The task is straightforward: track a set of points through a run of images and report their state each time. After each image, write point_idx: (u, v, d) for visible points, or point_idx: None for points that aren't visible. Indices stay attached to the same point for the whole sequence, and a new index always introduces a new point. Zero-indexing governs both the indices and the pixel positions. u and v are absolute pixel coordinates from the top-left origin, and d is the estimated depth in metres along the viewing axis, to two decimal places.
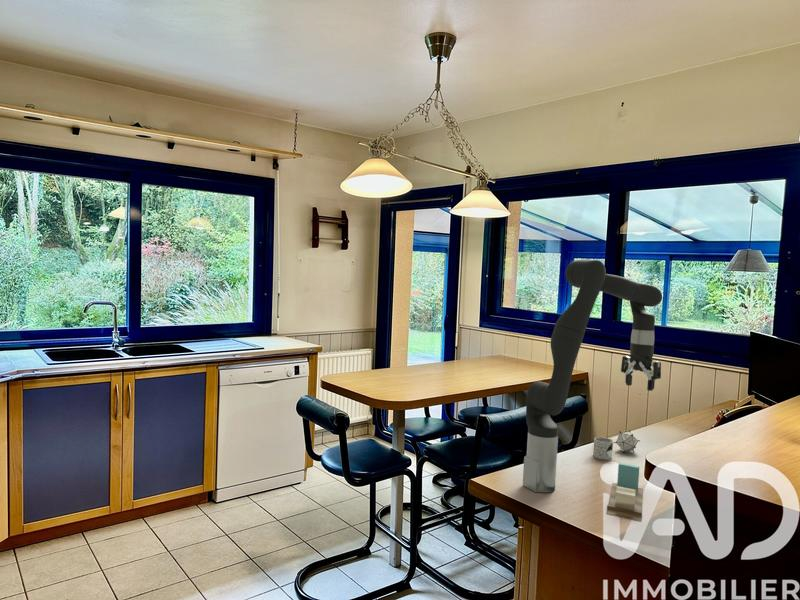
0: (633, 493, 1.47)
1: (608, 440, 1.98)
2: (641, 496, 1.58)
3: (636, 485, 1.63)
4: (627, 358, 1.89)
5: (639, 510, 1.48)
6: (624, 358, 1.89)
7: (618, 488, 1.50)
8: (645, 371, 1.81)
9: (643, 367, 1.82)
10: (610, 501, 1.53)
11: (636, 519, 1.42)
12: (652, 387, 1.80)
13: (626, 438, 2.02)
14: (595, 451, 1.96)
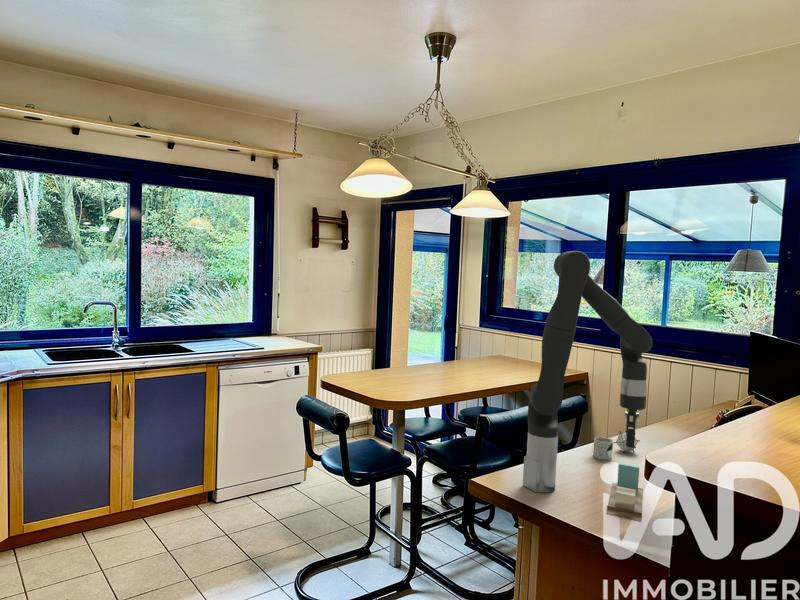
0: (633, 493, 1.47)
1: (608, 440, 1.98)
2: (641, 496, 1.58)
3: (636, 485, 1.63)
4: None
5: (639, 510, 1.48)
6: None
7: (618, 488, 1.50)
8: None
9: None
10: (610, 501, 1.53)
11: (636, 519, 1.42)
12: None
13: (626, 438, 2.02)
14: (595, 451, 1.96)
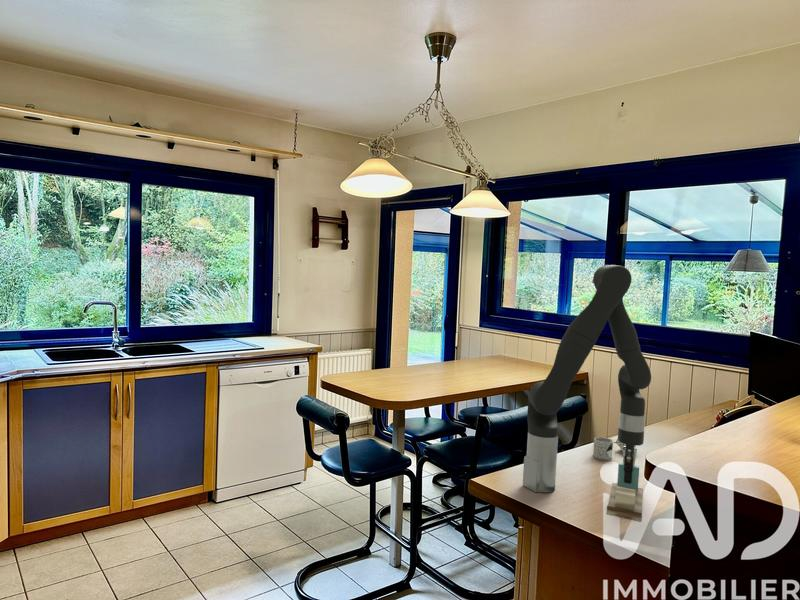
0: (633, 493, 1.47)
1: (608, 440, 1.98)
2: (641, 496, 1.58)
3: (636, 485, 1.63)
4: (630, 456, 1.60)
5: (639, 510, 1.48)
6: None
7: (618, 488, 1.50)
8: None
9: None
10: (610, 501, 1.53)
11: (636, 519, 1.42)
12: None
13: None
14: (595, 451, 1.96)
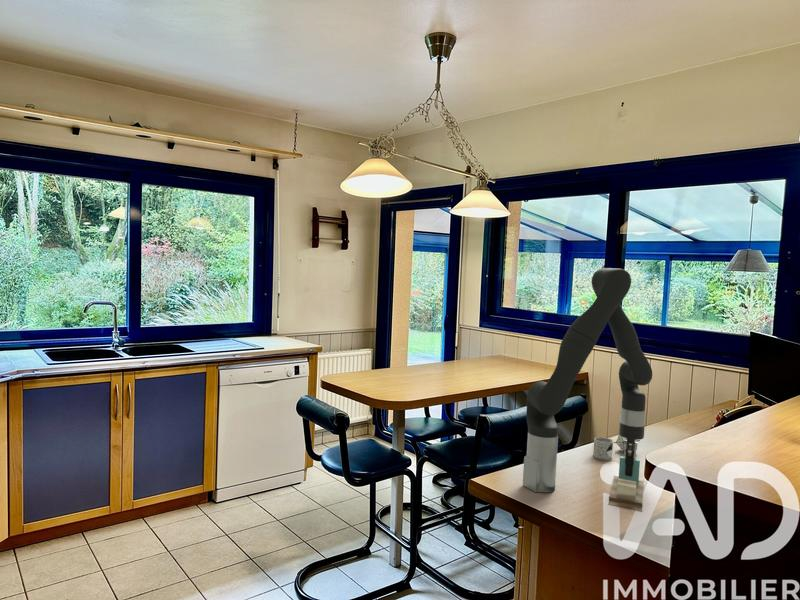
0: (634, 485, 1.53)
1: (608, 440, 1.98)
2: (641, 488, 1.64)
3: (637, 478, 1.69)
4: (631, 449, 1.66)
5: (640, 501, 1.54)
6: None
7: (619, 480, 1.57)
8: None
9: None
10: (612, 493, 1.59)
11: (637, 509, 1.48)
12: None
13: (625, 438, 2.02)
14: (595, 451, 1.96)
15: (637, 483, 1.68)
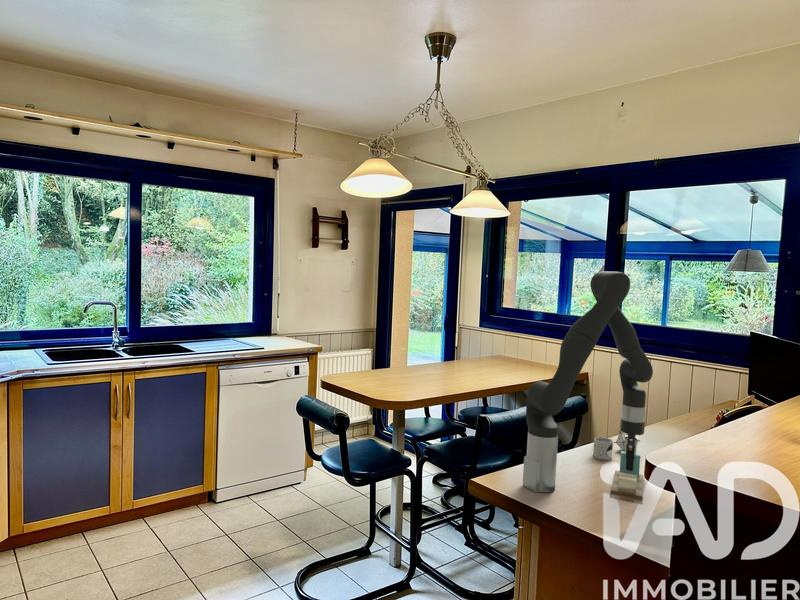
0: (634, 478, 1.59)
1: (608, 440, 1.98)
2: (642, 482, 1.69)
3: (637, 472, 1.75)
4: (632, 445, 1.72)
5: (640, 494, 1.59)
6: None
7: (621, 474, 1.62)
8: None
9: None
10: (613, 486, 1.65)
11: (637, 502, 1.53)
12: None
13: None
14: (595, 451, 1.96)
15: (637, 477, 1.73)
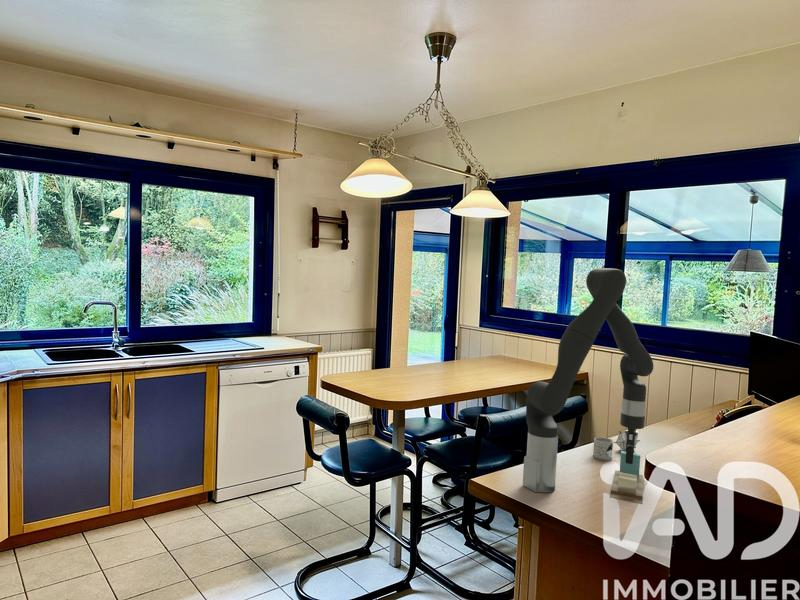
0: (634, 478, 1.59)
1: (608, 440, 1.98)
2: (642, 482, 1.69)
3: (637, 472, 1.75)
4: None
5: (640, 494, 1.59)
6: None
7: (621, 474, 1.62)
8: (636, 439, 1.78)
9: None
10: (613, 486, 1.65)
11: (637, 502, 1.54)
12: None
13: None
14: (595, 451, 1.96)
15: (638, 477, 1.74)
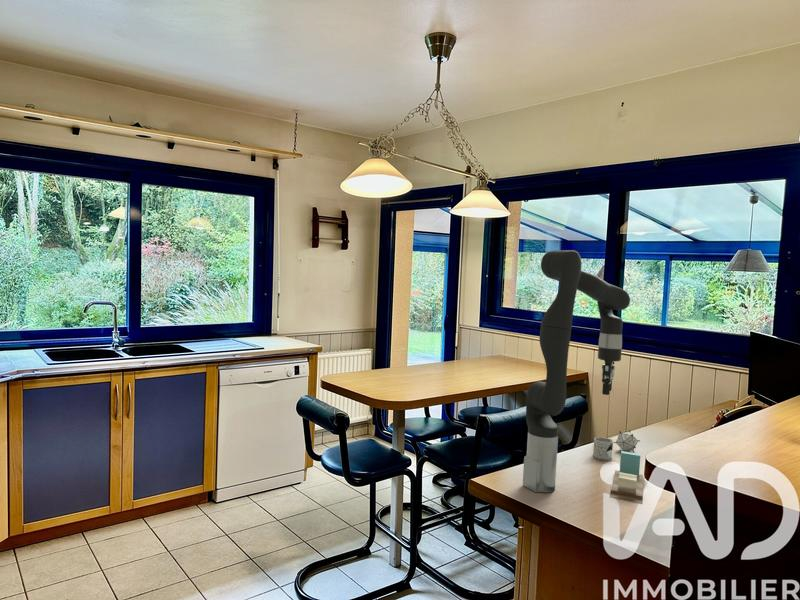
0: (634, 478, 1.59)
1: (608, 440, 1.98)
2: (642, 482, 1.69)
3: (637, 472, 1.75)
4: None
5: (640, 494, 1.59)
6: None
7: (621, 474, 1.62)
8: None
9: (614, 370, 1.83)
10: (613, 486, 1.65)
11: (637, 502, 1.54)
12: None
13: (626, 438, 2.02)
14: (595, 451, 1.96)
15: (638, 477, 1.74)
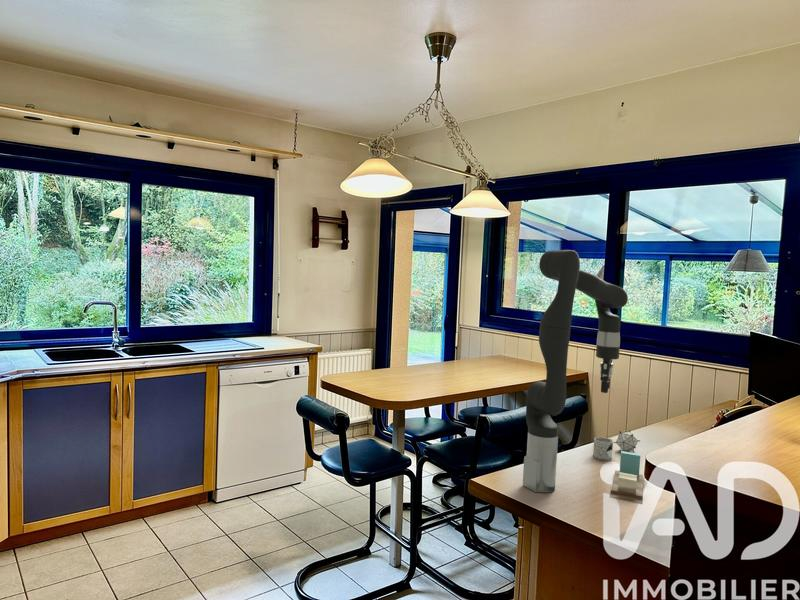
0: (634, 478, 1.59)
1: (608, 440, 1.98)
2: (642, 482, 1.69)
3: (637, 472, 1.75)
4: None
5: (640, 494, 1.59)
6: None
7: (621, 474, 1.62)
8: None
9: (612, 368, 1.83)
10: (613, 486, 1.65)
11: (637, 502, 1.54)
12: None
13: (626, 438, 2.02)
14: (595, 451, 1.96)
15: (638, 477, 1.74)
